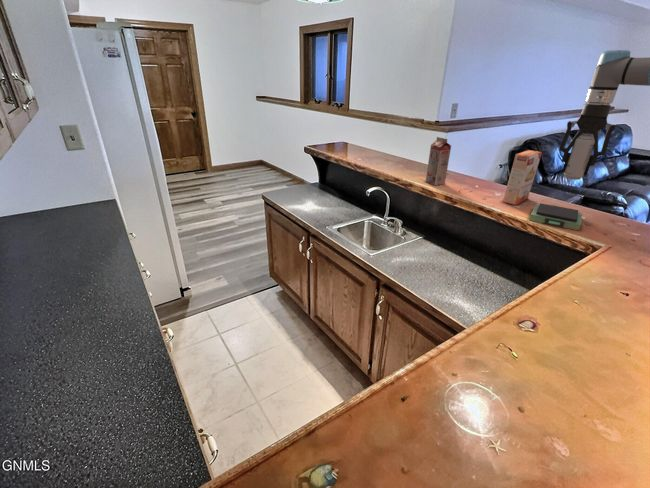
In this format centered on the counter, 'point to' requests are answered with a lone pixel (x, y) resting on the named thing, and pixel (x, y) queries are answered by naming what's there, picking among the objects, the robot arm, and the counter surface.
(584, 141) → the energy drink can
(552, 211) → the scale pan
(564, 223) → the scale
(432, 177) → the juice carton
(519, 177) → the cracker box
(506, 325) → the counter surface
